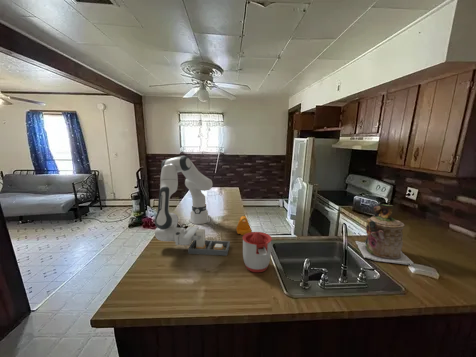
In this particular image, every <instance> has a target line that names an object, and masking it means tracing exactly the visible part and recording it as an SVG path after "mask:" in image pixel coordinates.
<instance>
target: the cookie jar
mask: <svg viewBox="0 0 476 357" xmlns="http://www.w3.org/2000/svg"><path fill="white" fill-rule="evenodd" d="M393 209H394V205H392V204H390V205H389V204H384V203H382V204H379V205H376V206H374V207H373V212H375V214H374V215H373V216H371V217H368V218H367V219H366V223H367V224H366V226H365V232H366V234H367V236H366V239H365V241H358V240H355V243H356V245H357V247H358V249H359V251H360V252H361V254H362V256H363V258H365V259H369V260H372V261H375V262H381V263H390V264H391V263H392V264H399V265H400V264H401V265H406V266H410V265H409V264H412V265H413V264H414V261H412V260H411V259H410V258H409V257H408V256H407V255H405V253H403V251H402V249H403V245H404V242H403V237H404V236H403V229H404V228H405V224H404V222H402V221H400V220H397V219H395V218H393V217H392V214H393Z"/></svg>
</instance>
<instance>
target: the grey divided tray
mask: <svg viewBox="0 0 476 357" xmlns="http://www.w3.org/2000/svg"><path fill="white" fill-rule="evenodd" d="M230 242H231V241H230V240H211V239H210V240H209V239H207V240H206V239H205V245H206V246H207V247H206V249H196V240H193V241H192V242H191V244H190V245H189V246H188V248H187V254H188V255H189V254H190V255H191V254H192V255H206V256H208V255H210V256H226V257H227V256H228V253H229V250H230V246H231V244H230ZM212 247H213V249H212ZM224 247H226V248H224Z"/></svg>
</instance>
